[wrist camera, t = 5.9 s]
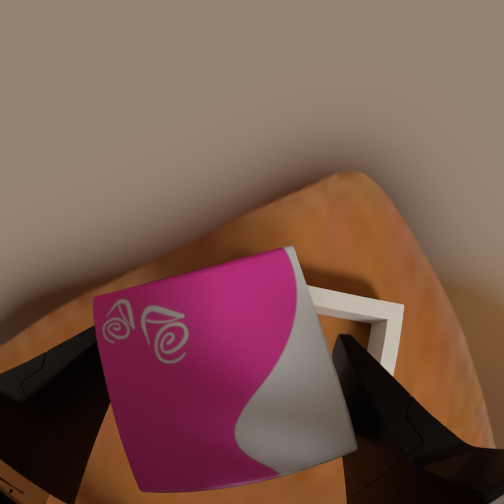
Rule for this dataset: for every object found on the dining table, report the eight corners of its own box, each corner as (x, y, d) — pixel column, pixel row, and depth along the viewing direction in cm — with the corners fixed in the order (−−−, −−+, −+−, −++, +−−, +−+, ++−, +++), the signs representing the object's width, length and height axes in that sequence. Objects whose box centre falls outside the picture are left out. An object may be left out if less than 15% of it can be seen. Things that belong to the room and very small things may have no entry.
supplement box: (271, 309, 17) (301, 237, 7) (296, 396, 15) (368, 460, 5) (183, 331, 17) (84, 293, 6) (207, 419, 15) (141, 505, 4)
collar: (359, 436, 17) (373, 447, 14) (227, 416, 18) (222, 427, 15) (386, 311, 20) (404, 305, 17) (260, 285, 21) (260, 274, 18)
